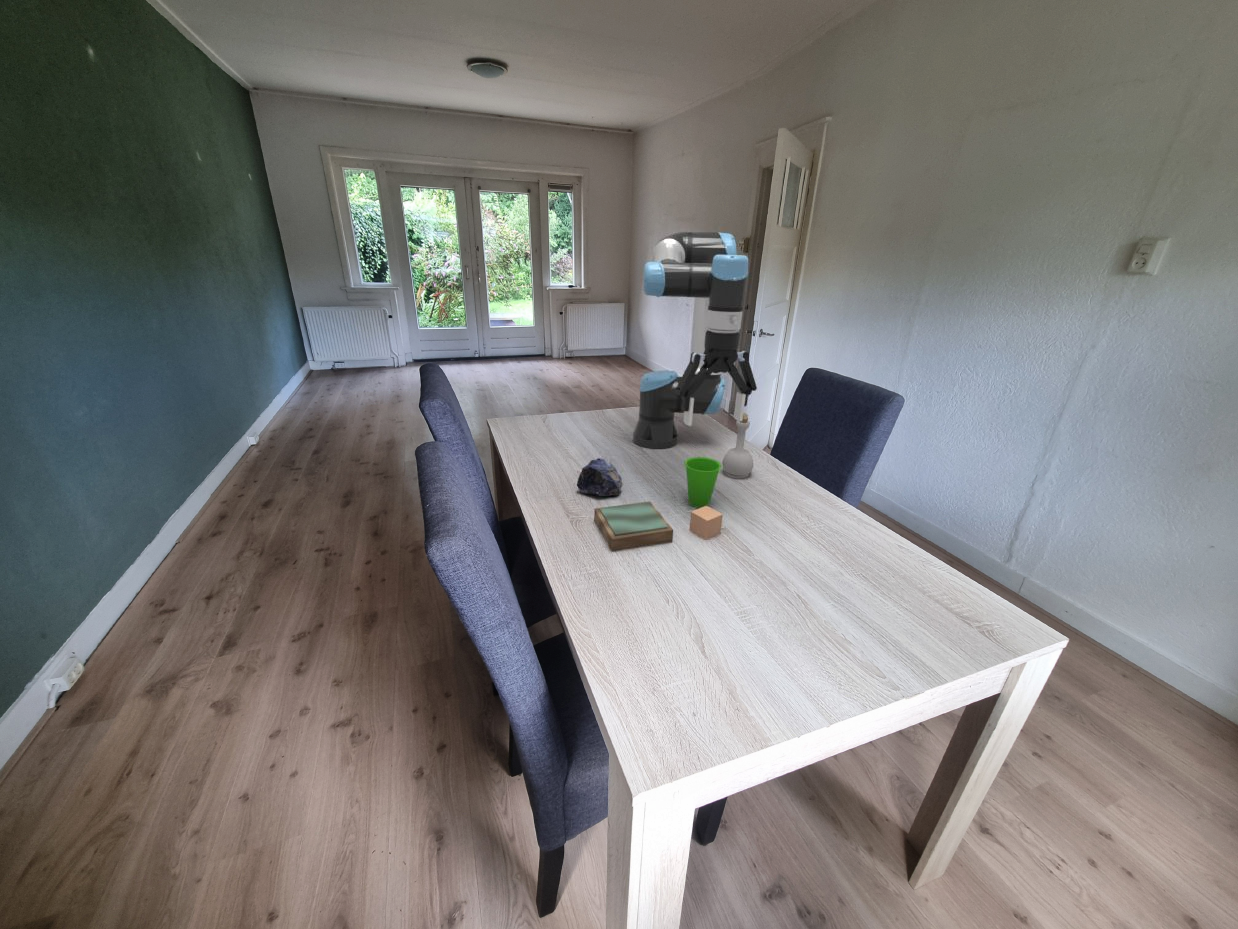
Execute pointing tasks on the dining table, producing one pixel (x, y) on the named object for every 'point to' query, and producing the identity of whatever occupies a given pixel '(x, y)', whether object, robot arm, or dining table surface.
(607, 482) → the rock
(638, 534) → the tray
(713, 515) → the terracotta block
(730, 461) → the potion bottle
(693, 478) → the cup
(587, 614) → the dining table surface
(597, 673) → the dining table surface
